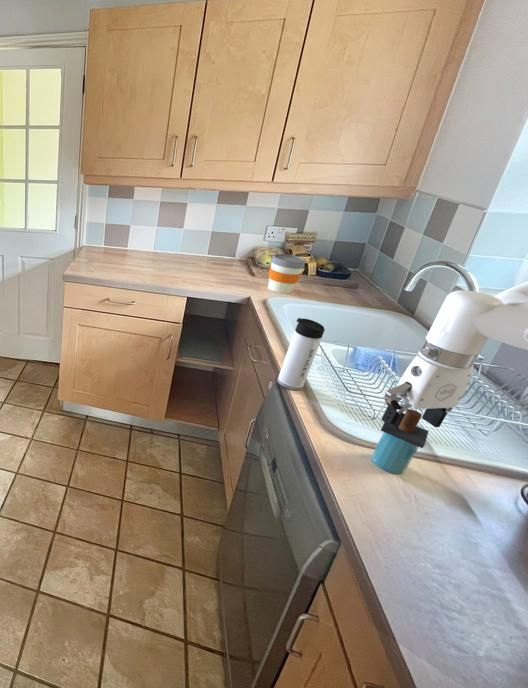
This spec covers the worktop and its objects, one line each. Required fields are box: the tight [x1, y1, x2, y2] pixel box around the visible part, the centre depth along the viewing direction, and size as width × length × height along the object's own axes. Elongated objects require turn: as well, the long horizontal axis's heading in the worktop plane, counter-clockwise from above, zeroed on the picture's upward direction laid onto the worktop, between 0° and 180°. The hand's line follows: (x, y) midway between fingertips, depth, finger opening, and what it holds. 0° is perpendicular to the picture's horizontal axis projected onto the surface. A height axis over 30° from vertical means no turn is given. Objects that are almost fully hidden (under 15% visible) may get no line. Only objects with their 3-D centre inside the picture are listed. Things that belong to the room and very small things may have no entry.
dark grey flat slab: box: [380, 408, 429, 449], centre depth 87 cm, size 7×7×5 cm
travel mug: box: [277, 317, 326, 391], centre depth 115 cm, size 6×7×20 cm
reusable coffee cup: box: [267, 253, 306, 294], centre depth 183 cm, size 13×13×15 cm
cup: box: [370, 431, 420, 475], centre depth 90 cm, size 6×6×9 cm
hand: (409, 423), depth 87 cm, fingers open, 9 cm apart
